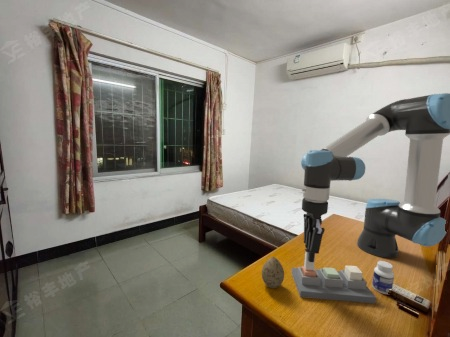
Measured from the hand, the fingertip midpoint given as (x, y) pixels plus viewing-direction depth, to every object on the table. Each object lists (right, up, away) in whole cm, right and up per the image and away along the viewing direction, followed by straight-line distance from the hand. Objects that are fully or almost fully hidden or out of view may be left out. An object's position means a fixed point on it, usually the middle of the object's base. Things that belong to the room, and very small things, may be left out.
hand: (308, 268), depth 70 cm
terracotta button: (0, -3, 0) cm, 3 cm away
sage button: (+7, -3, 0) cm, 8 cm away
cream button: (+14, -2, -1) cm, 14 cm away
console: (+7, -6, 0) cm, 9 cm away
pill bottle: (+24, -7, 0) cm, 25 cm away
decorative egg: (-12, -6, 0) cm, 14 cm away
